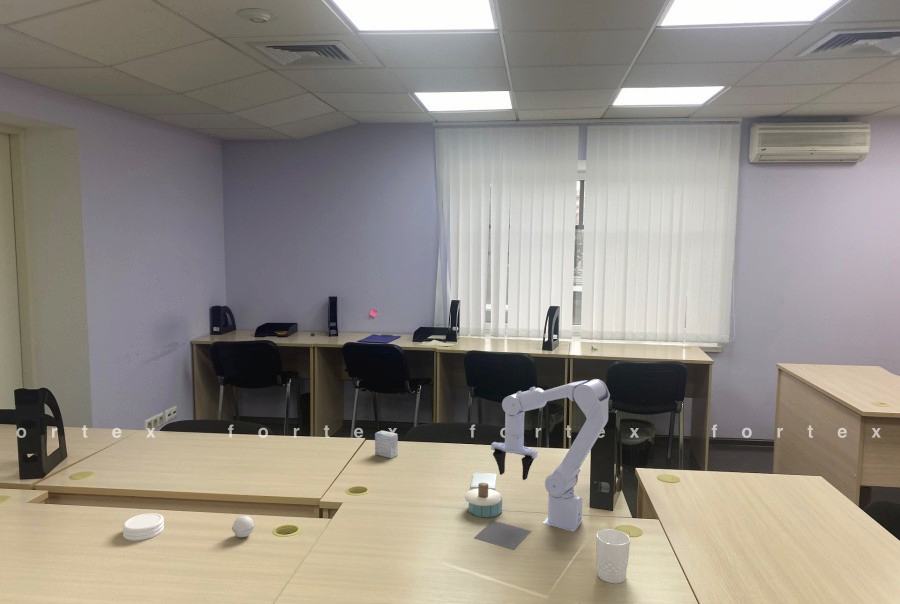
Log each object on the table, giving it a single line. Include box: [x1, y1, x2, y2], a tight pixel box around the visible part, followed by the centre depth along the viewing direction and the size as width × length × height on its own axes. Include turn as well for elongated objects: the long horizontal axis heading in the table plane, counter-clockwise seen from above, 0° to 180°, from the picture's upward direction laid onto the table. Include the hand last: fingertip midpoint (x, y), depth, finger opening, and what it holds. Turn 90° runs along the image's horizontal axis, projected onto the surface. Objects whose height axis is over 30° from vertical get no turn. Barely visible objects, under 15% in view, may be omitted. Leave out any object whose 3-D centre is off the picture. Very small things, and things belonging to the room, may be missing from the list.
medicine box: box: [374, 430, 399, 459], centre depth 220 cm, size 8×4×9 cm, turn 58°
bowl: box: [468, 495, 503, 518], centre depth 174 cm, size 10×10×4 cm
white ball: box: [231, 515, 255, 538], centre depth 156 cm, size 8×6×6 cm
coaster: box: [122, 512, 165, 542], centre depth 158 cm, size 10×10×4 cm
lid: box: [464, 483, 502, 506], centre depth 173 cm, size 11×11×4 cm
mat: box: [473, 520, 532, 551], centre depth 159 cm, size 12×12×1 cm
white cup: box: [595, 528, 631, 584], centre depth 140 cm, size 8×8×10 cm
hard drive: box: [470, 472, 498, 491], centre depth 195 cm, size 2×8×12 cm
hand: (513, 476), depth 176 cm, fingers open, 7 cm apart
